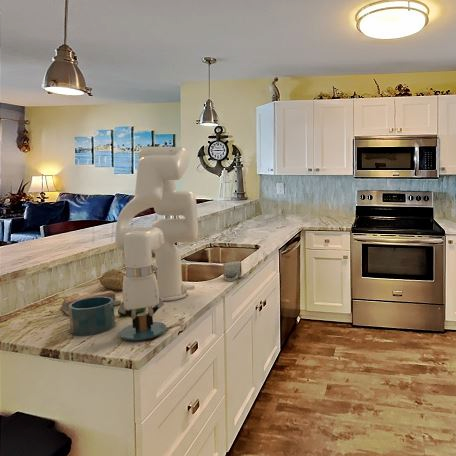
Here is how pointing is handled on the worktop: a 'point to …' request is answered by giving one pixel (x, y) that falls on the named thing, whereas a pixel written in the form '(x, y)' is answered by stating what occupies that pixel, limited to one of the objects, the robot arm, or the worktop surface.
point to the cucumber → (136, 311)
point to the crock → (91, 315)
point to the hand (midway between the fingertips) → (143, 327)
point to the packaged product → (101, 294)
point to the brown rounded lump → (113, 279)
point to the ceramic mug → (232, 270)
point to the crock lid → (142, 329)
